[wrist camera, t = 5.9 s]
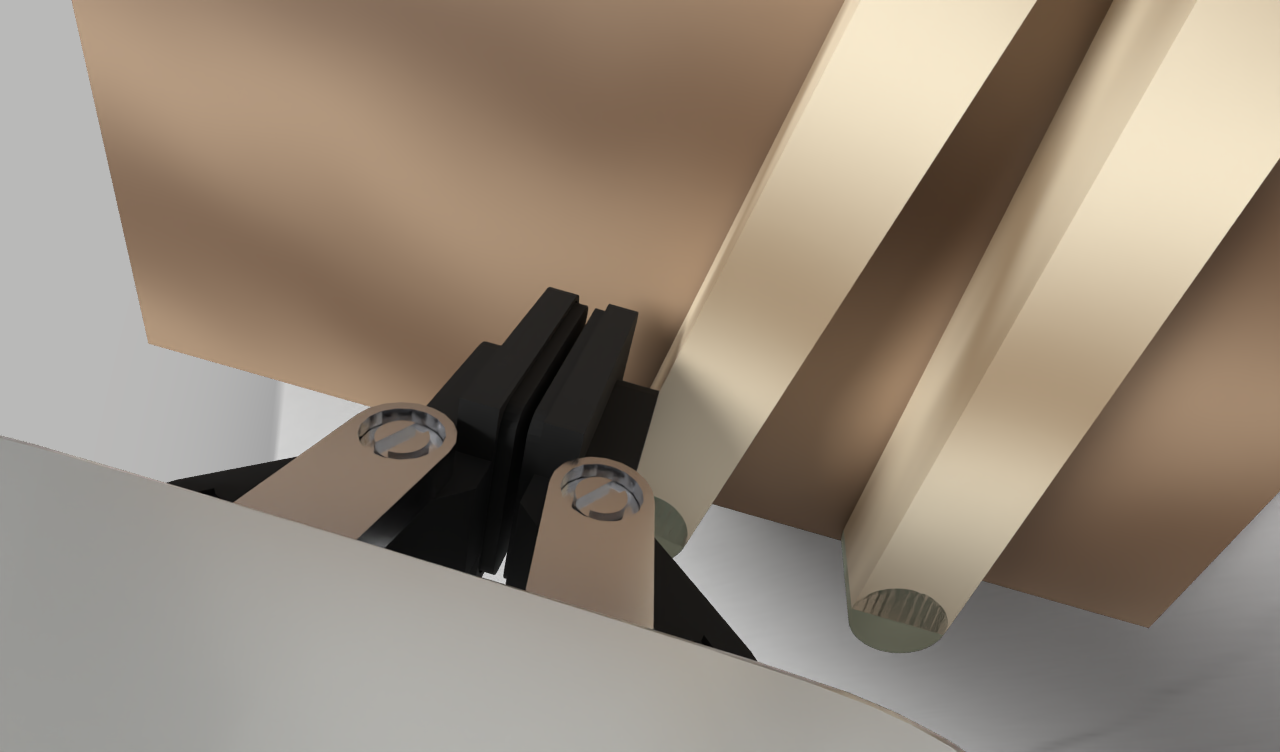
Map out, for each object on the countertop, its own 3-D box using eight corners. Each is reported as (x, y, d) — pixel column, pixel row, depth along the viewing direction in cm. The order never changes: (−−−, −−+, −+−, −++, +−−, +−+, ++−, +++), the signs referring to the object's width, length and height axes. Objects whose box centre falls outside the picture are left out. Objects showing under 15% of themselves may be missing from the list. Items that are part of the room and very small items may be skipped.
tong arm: (1276, -860, 6) (1492, -1229, 4) (1670, -636, 6) (2045, -893, 4) (608, 471, 15) (583, 539, 13) (775, 545, 16) (773, 623, 14)
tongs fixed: (1268, -565, 7) (1549, -882, 4) (1575, -508, 7) (2058, -803, 4) (778, 542, 15) (776, 654, 13) (907, 579, 15) (930, 699, 13)
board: (24, -821, 9) (-154, -1008, 7) (1971, -460, 8) (2309, -585, 6) (209, 308, 18) (148, 343, 16) (1111, 561, 17) (1148, 627, 15)
